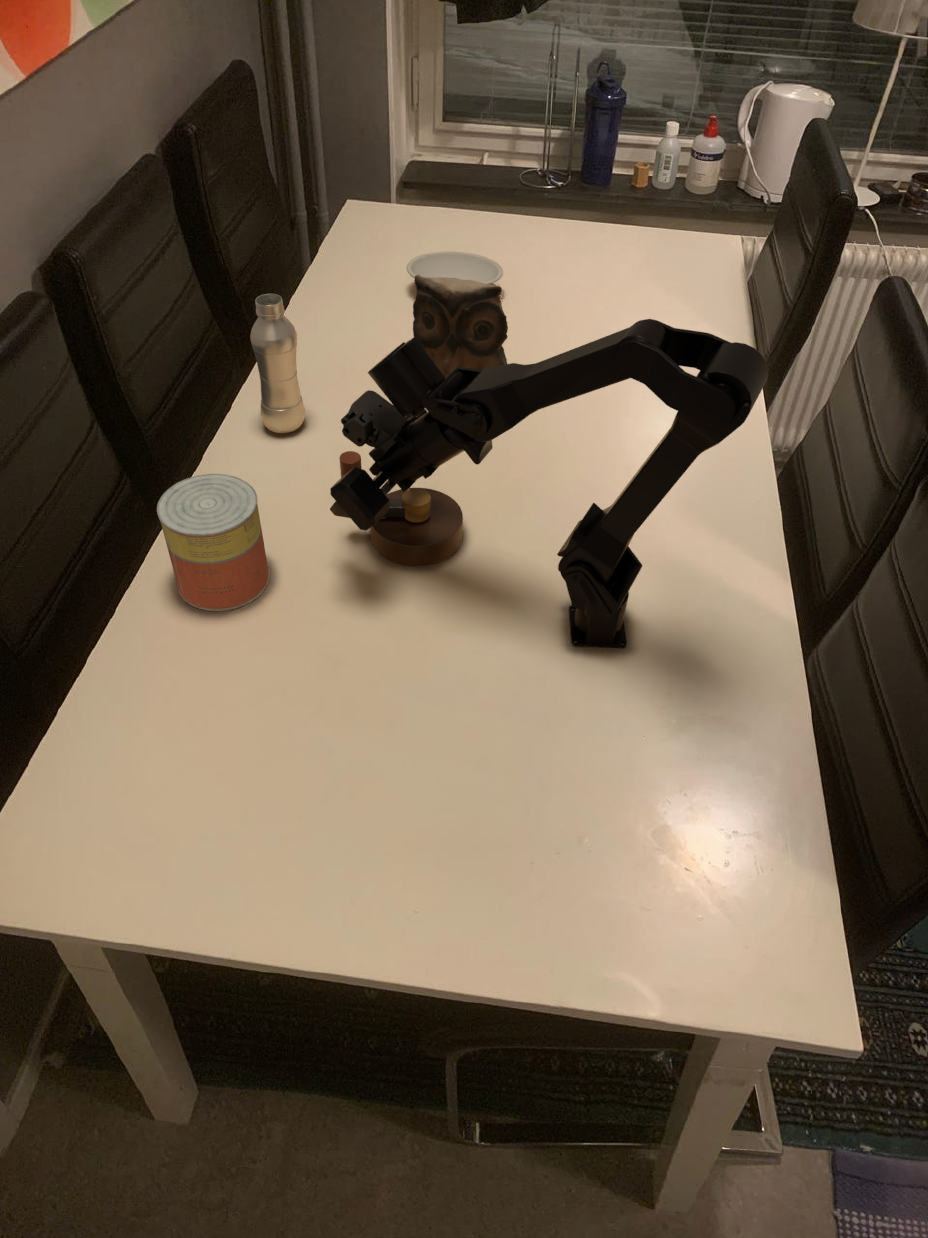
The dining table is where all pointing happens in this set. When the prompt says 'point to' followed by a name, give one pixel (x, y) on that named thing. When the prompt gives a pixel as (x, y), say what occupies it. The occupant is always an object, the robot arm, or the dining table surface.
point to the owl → (460, 323)
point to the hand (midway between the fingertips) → (352, 491)
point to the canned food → (214, 541)
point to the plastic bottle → (277, 365)
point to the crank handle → (409, 506)
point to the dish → (455, 267)
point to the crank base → (420, 533)
